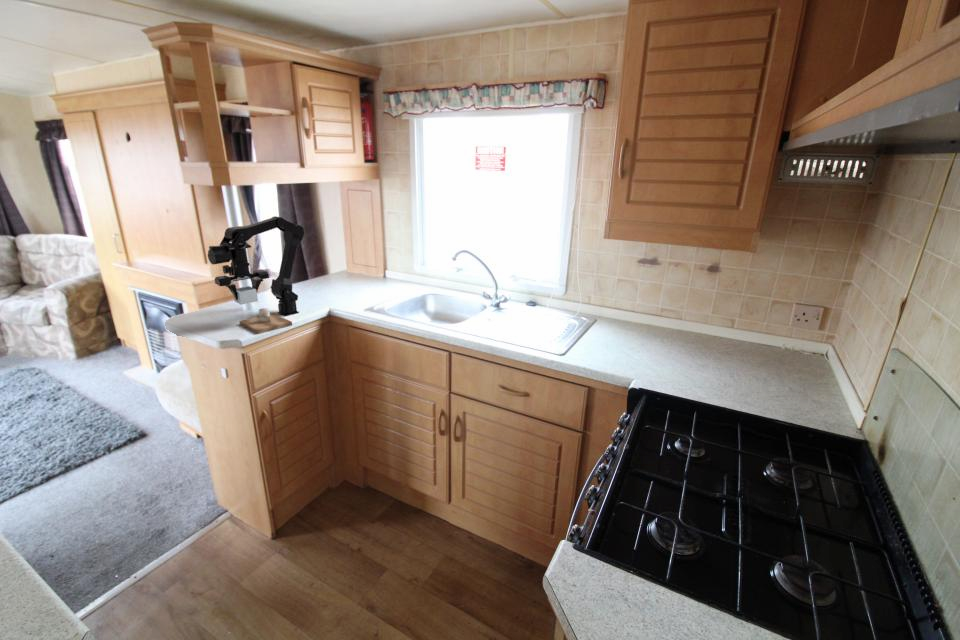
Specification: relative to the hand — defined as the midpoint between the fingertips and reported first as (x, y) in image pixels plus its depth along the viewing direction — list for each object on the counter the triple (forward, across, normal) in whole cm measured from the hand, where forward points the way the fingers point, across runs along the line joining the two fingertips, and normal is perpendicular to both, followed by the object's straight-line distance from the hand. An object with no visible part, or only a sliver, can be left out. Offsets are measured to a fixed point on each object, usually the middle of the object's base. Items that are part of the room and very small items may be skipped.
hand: (245, 298), depth 183 cm
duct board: (+11, -4, +6) cm, 13 cm away
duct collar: (+1, 0, 0) cm, 1 cm away
